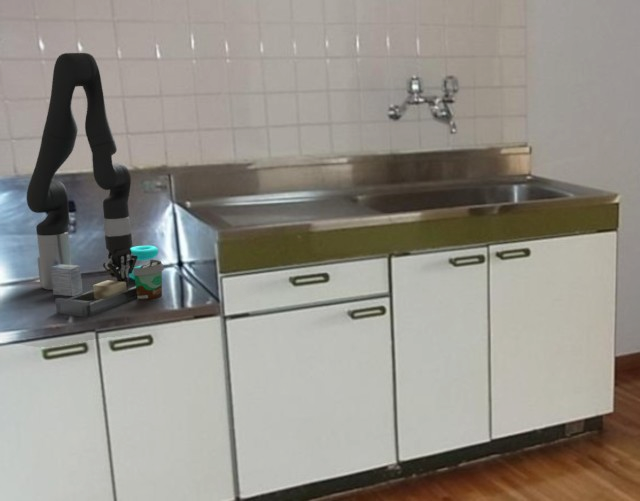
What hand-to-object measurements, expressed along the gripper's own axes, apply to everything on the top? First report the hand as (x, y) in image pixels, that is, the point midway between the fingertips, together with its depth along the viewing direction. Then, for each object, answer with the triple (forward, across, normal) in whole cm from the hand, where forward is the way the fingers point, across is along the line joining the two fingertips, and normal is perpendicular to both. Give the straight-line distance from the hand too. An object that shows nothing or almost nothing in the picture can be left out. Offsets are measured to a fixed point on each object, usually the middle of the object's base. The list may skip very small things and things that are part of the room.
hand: (123, 289), depth 220 cm
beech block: (+1, +5, 0) cm, 5 cm away
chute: (+2, +9, 0) cm, 9 cm away
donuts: (+2, -21, -9) cm, 23 cm away
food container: (+2, -2, +10) cm, 10 cm away
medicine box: (+2, +4, -18) cm, 19 cm away
